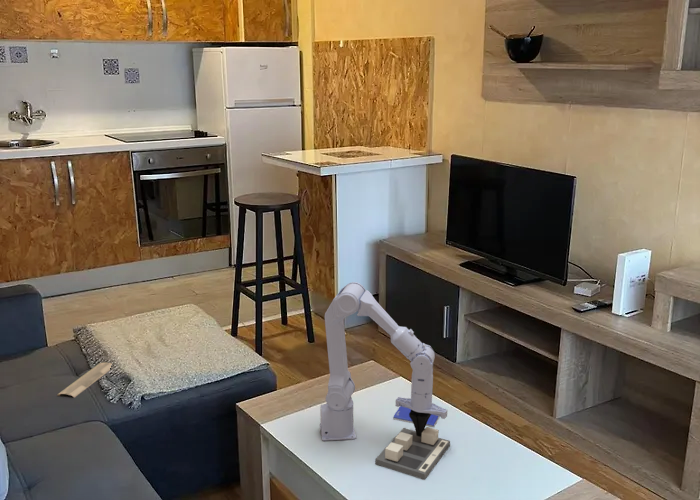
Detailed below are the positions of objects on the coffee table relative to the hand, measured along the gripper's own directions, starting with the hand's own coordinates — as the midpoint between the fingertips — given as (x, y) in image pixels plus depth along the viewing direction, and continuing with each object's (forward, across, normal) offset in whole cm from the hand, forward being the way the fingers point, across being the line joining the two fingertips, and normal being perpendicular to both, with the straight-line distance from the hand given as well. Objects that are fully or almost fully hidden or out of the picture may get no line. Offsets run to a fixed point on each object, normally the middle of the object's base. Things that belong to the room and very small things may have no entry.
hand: (420, 434), depth 188 cm
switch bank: (+3, -1, +6) cm, 7 cm away
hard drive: (+3, +6, -13) cm, 15 cm away
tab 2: (+1, +2, +6) cm, 6 cm away
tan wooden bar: (+4, +110, +18) cm, 112 cm away
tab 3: (+1, -3, 0) cm, 3 cm away
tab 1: (+1, +2, +12) cm, 12 cm away
